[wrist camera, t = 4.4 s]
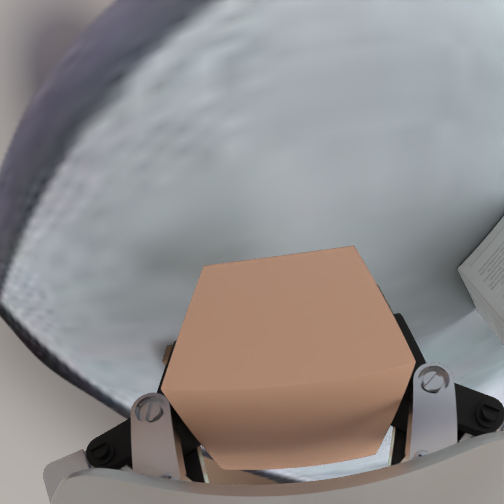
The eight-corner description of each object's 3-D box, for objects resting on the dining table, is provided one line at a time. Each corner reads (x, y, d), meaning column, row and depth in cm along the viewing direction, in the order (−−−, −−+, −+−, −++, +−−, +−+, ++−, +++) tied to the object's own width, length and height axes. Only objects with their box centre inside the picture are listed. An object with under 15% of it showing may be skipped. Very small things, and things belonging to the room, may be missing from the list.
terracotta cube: (354, 245, 10) (415, 361, 5) (350, 350, 12) (375, 454, 7) (203, 265, 10) (160, 389, 5) (234, 364, 13) (222, 468, 8)
